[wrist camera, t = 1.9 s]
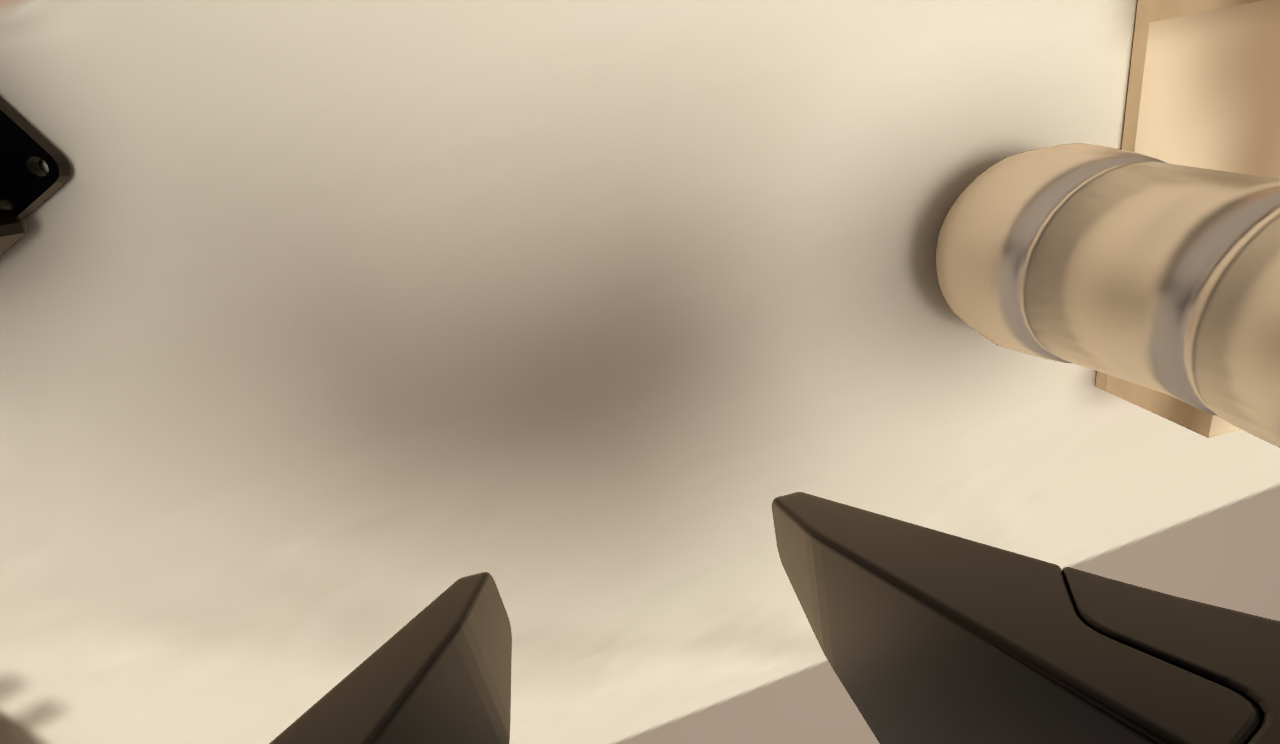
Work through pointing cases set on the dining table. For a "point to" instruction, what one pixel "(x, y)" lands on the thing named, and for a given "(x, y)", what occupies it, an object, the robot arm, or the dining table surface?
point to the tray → (1202, 118)
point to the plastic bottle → (1126, 273)
